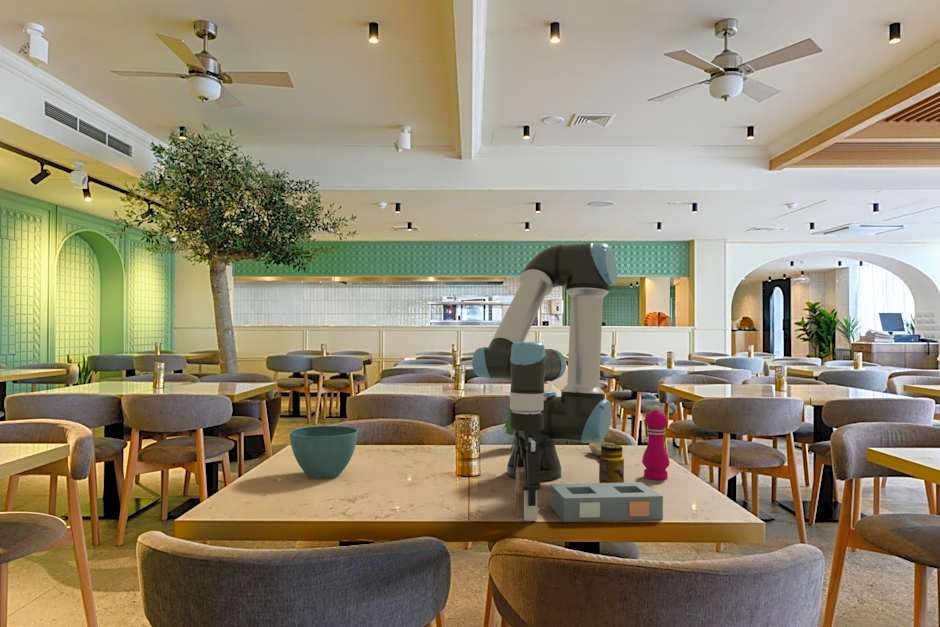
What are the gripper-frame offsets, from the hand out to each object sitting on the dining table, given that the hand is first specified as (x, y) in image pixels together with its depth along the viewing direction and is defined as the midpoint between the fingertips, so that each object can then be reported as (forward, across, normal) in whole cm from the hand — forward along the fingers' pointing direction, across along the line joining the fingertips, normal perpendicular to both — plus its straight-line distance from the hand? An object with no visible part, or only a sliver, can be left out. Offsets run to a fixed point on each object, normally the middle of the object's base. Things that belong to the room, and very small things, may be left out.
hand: (525, 513), depth 140 cm
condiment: (0, +15, -24) cm, 28 cm away
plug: (0, 0, 0) cm, 0 cm away
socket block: (0, 0, -18) cm, 18 cm away
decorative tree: (0, +72, -12) cm, 73 cm away
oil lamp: (0, +60, -38) cm, 71 cm away
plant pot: (0, +39, +48) cm, 62 cm away
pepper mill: (0, +30, -43) cm, 53 cm away
